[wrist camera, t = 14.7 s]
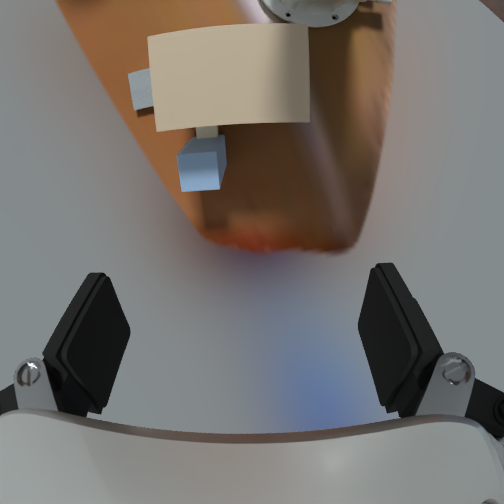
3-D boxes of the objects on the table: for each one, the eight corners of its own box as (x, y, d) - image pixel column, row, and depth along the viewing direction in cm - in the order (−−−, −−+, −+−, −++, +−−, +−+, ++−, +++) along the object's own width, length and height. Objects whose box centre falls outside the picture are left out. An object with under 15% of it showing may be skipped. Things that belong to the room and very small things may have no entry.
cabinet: (287, 42, 29) (307, 24, 18) (289, 105, 34) (310, 122, 22) (185, 49, 30) (147, 36, 18) (189, 110, 34) (156, 131, 22)
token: (169, 64, 31) (165, 64, 30) (174, 100, 34) (171, 101, 33) (132, 73, 32) (128, 73, 30) (138, 109, 34) (134, 110, 33)
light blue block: (219, 61, 31) (208, 56, 23) (226, 164, 38) (219, 189, 31) (186, 65, 31) (166, 62, 23) (196, 166, 38) (181, 191, 31)
